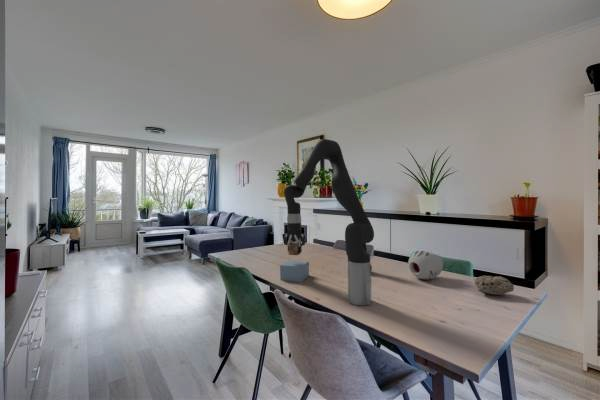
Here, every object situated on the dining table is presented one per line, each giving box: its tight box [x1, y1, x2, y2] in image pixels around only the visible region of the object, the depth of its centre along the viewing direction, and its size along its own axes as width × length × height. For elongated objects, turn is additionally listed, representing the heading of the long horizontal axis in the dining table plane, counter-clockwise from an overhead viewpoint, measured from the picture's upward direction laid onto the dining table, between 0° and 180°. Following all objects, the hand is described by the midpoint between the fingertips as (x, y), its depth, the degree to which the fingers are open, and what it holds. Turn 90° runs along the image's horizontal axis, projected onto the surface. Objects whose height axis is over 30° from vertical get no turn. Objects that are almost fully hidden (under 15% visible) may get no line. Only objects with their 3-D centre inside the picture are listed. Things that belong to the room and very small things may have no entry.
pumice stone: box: [473, 275, 515, 296], centre depth 119 cm, size 14×12×8 cm
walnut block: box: [287, 241, 300, 256], centre depth 148 cm, size 5×5×6 cm
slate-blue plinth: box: [279, 259, 310, 283], centre depth 148 cm, size 12×12×8 cm
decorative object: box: [408, 250, 445, 280], centre depth 143 cm, size 16×19×15 cm
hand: (294, 252), depth 148 cm, fingers closed on walnut block, 5 cm apart
